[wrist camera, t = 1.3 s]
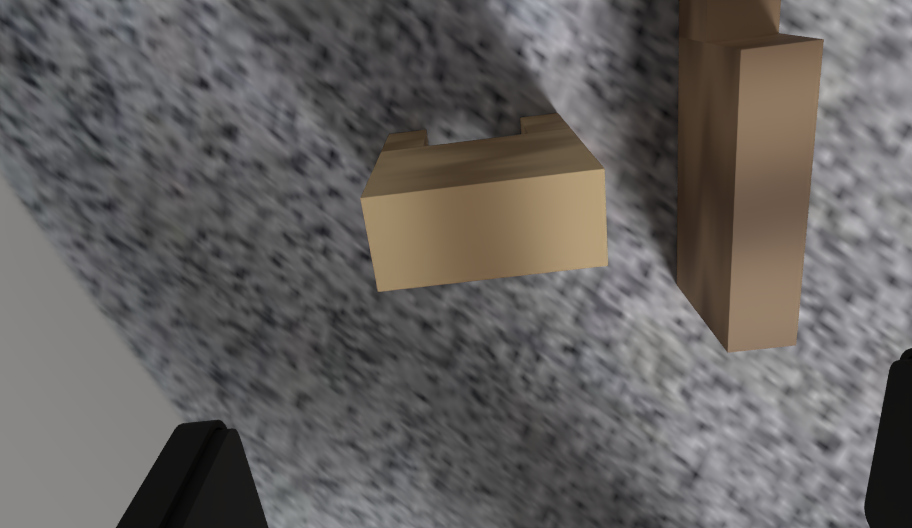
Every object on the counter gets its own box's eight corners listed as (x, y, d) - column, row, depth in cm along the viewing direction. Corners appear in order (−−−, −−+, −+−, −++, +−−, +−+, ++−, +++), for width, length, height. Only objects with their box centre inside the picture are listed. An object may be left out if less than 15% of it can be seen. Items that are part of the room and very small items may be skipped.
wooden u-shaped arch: (557, 113, 27) (604, 168, 18) (562, 183, 28) (608, 265, 20) (389, 134, 27) (360, 198, 19) (400, 202, 28) (378, 291, 20)
